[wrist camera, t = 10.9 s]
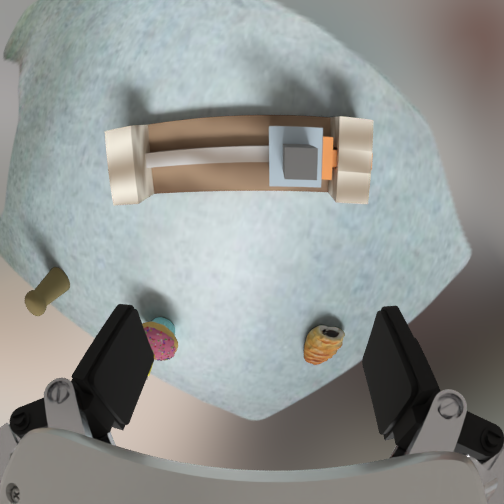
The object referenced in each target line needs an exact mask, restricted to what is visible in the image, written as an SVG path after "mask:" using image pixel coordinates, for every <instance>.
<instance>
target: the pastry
mask: <svg viewBox="0 0 504 504" xmlns="http://www.w3.org/2000/svg"><path fill="white" fill-rule="evenodd" d="M344 336H345V333H344V331H342V330H341V329H339V328H337V327H327V326H323V325H320V326H317V327H315V328H314V329H312V330H311V331H310V332H309V333H308V335H307V338H306V342H305V346H304V359H305V361H306V362H308V363H312V364H314V365H317V364H321V363H322V362H324V361H327V360H328V358H332V356H333V355H334V354H336V352H337V349H339V348H340V347H341V346H342V341H343V337H344Z"/></svg>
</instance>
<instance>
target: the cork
mask: <svg viewBox="0 0 504 504" xmlns="http://www.w3.org/2000/svg"><path fill="white" fill-rule="evenodd" d="M69 288H70V283H69V279H68V277H67V275H66V274H65V273H64V272H63V271H62V270H61V269H60V268H57V267H53V268H52V269H51V270H50V271H49V273H48V274H47V275H46V276H45V278H44V279H43V280H42V281H41V282H40V284H39V285H38V286H37V288H36V289H35V290H31V291H29V292H28V293H27V294H26V296H25V304H26V307H27V309H28V310H29V311H30V312H31V313H32V314H33V315H35V316H40V315H42V314H43V313H44V312H45V310H46V306H47V305H48V304H50V303H51V302H53V301H54V300H55V299H57V298H58V297H59V296H61V295H62V294H63V293H65V292H66V291H67V290H69Z"/></svg>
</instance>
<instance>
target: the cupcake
mask: <svg viewBox="0 0 504 504" xmlns="http://www.w3.org/2000/svg"><path fill="white" fill-rule="evenodd" d="M142 325H143V328H144V330H145V333H146V336H147V338H148V341H149V343H150V346H151V348H152V351H153V353H154V359H155V360H158V361H159V360H160V361H162V360H168V359H170V358H172V357H173V356H174V354H175V352H176V351H177V348H178V341H177V339H176V337H175V327H174V325H173V324H172V323H171V322H170V321H169V320H168V319H166V318H162V317H157V318H155V319H154V320H152V321H151V322H146V323H143V324H142ZM152 365H153V364H152ZM151 368H152V367H151ZM150 372H151V369H150ZM150 372H149V374H148V376H149V375H150ZM148 376H147V378H148ZM146 380H147V379H146Z"/></svg>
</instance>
